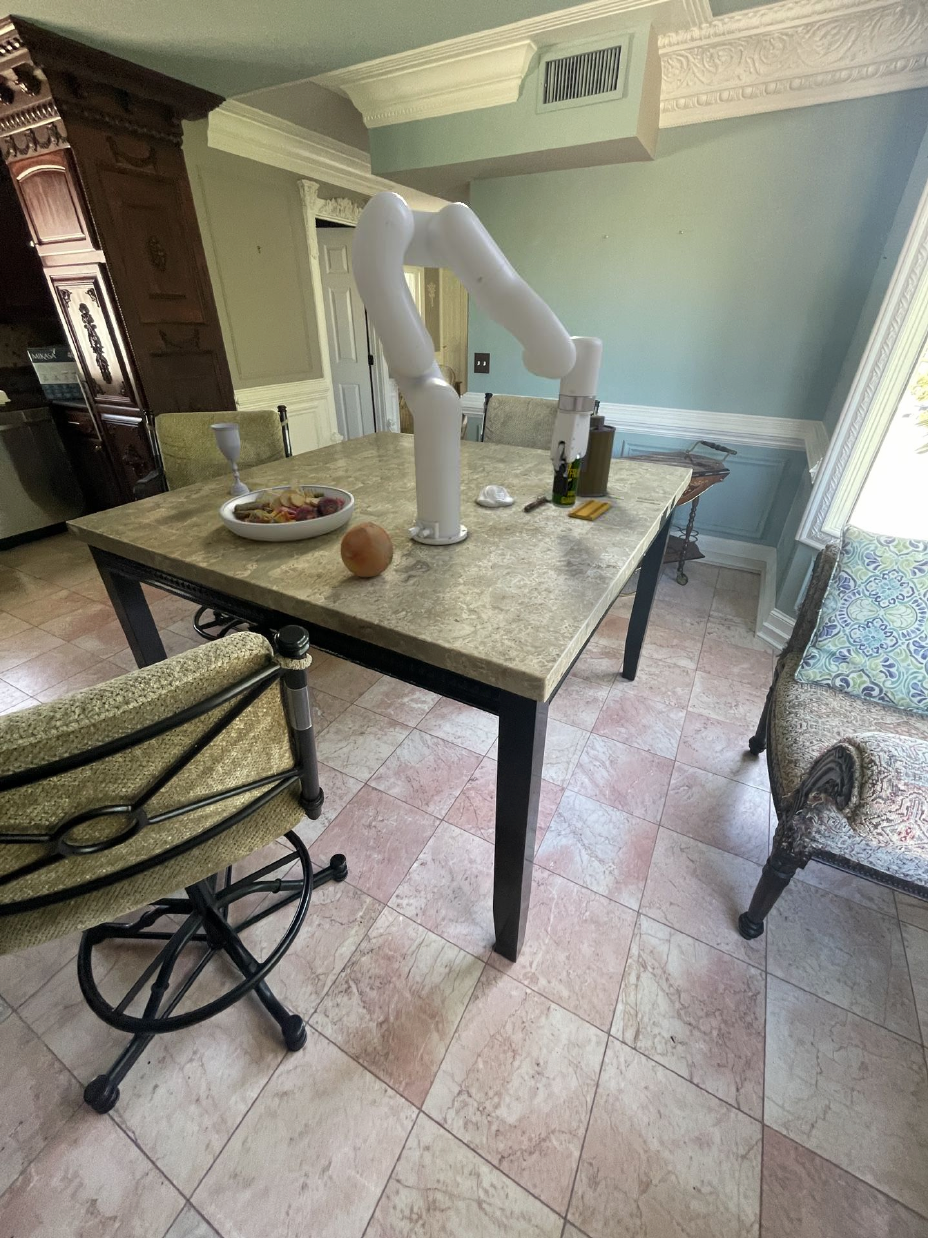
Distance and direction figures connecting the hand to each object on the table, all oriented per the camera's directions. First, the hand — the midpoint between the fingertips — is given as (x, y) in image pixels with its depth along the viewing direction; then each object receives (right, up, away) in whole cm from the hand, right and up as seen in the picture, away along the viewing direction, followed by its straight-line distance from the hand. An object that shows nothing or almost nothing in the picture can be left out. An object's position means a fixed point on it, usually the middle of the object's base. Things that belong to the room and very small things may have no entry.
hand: (564, 489), depth 113 cm
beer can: (0, -3, +2) cm, 4 cm away
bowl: (-64, -7, +6) cm, 65 cm away
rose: (-15, +2, +21) cm, 25 cm away
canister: (+12, +7, +29) cm, 32 cm away
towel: (+9, -2, +14) cm, 17 cm away
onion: (-41, -21, -18) cm, 49 cm away
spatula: (-3, +2, +20) cm, 20 cm away
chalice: (-86, +7, +29) cm, 91 cm away
